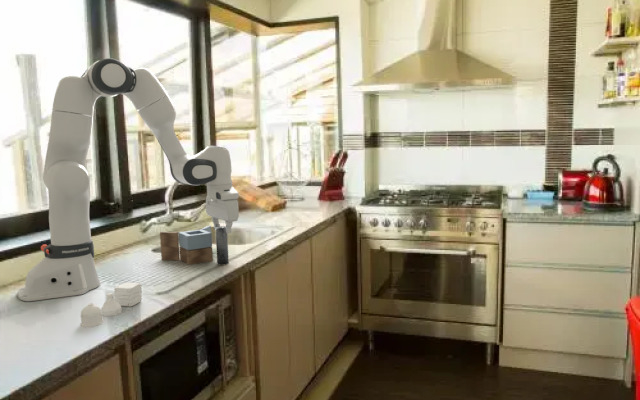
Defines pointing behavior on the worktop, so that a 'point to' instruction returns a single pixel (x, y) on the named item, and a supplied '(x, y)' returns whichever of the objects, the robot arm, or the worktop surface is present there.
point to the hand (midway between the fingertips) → (222, 231)
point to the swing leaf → (196, 238)
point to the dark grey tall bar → (222, 245)
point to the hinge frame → (182, 250)
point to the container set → (111, 304)
